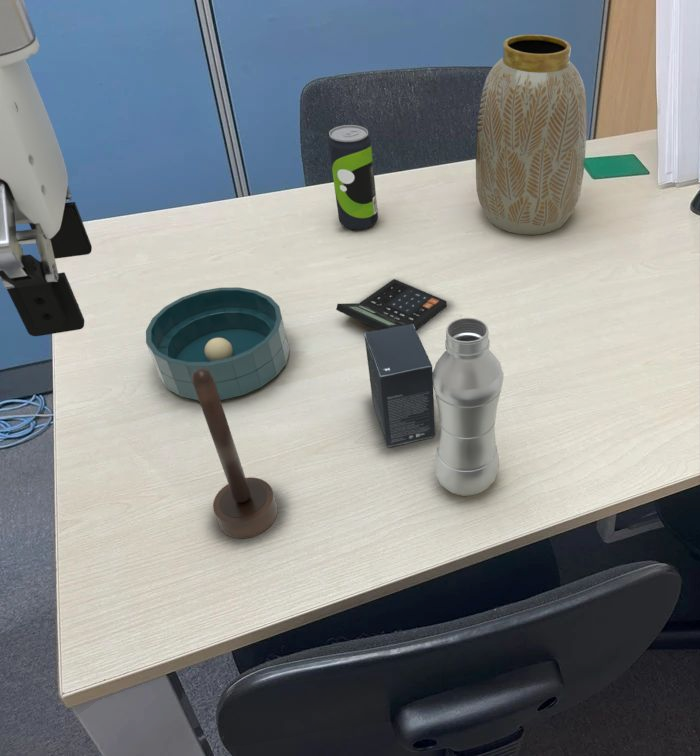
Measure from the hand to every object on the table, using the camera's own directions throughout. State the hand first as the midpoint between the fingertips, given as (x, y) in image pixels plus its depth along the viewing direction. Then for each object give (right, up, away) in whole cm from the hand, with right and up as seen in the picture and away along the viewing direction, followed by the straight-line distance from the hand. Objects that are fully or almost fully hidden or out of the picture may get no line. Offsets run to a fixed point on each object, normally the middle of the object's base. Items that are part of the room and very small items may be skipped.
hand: (64, 290), depth 49 cm
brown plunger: (+5, -20, +21) cm, 29 cm away
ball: (-4, -3, +36) cm, 37 cm away
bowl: (-4, -4, +38) cm, 39 cm away
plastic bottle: (+27, -17, +25) cm, 41 cm away
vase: (+35, +21, +69) cm, 80 cm away
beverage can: (+7, +19, +65) cm, 68 cm away
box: (+19, -11, +32) cm, 39 cm away
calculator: (+16, +2, +47) cm, 49 cm away
